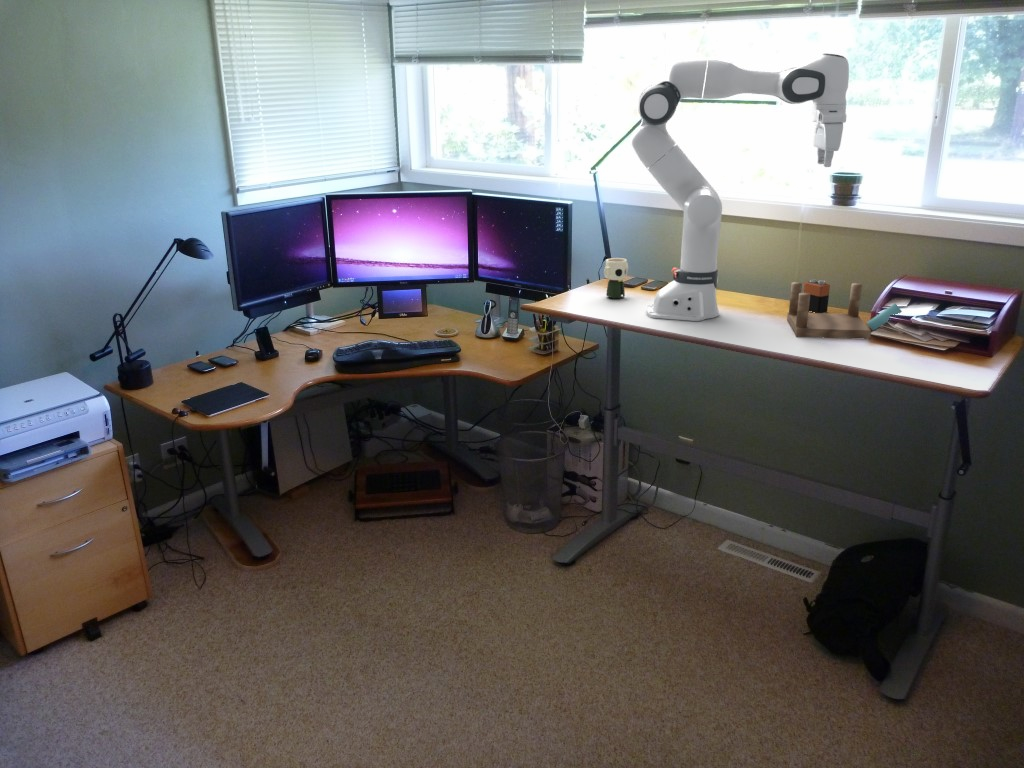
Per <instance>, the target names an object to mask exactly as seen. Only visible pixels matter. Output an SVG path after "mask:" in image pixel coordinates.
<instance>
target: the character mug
mask: <svg viewBox="0 0 1024 768" xmlns="http://www.w3.org/2000/svg"><path fill="white" fill-rule="evenodd" d="M628 272H629V264H628V259H626V258H620V257H612V258H607V259H605V267H604V269H603V276H604V277H605V278H606V279H607V280H608V282H607V287H606V294H605V296H607V297H609V298H611V299H621V298H622V297H623V298H624V297H625V296H626V295H625V283H624V280H625V279H627V276H628Z"/></svg>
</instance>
